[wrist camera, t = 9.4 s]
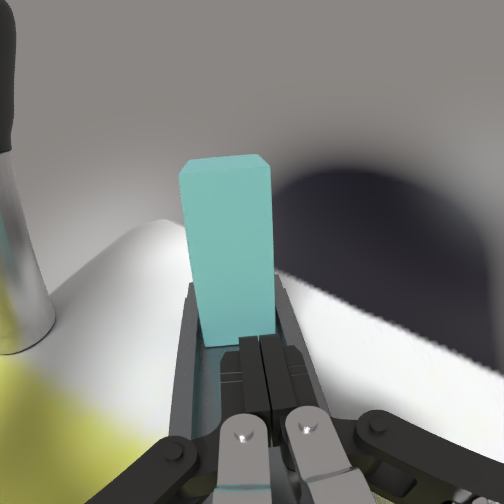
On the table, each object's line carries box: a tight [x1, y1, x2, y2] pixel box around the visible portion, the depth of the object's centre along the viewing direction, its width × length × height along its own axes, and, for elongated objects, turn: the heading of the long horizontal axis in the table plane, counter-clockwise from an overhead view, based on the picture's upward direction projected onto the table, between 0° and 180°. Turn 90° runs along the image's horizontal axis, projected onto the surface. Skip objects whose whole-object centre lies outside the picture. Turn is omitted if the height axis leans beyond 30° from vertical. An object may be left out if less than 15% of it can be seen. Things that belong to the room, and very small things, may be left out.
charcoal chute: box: [169, 274, 331, 504], centre depth 18 cm, size 23×9×3 cm, turn 6°
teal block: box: [179, 154, 275, 347], centre depth 22 cm, size 6×5×12 cm
